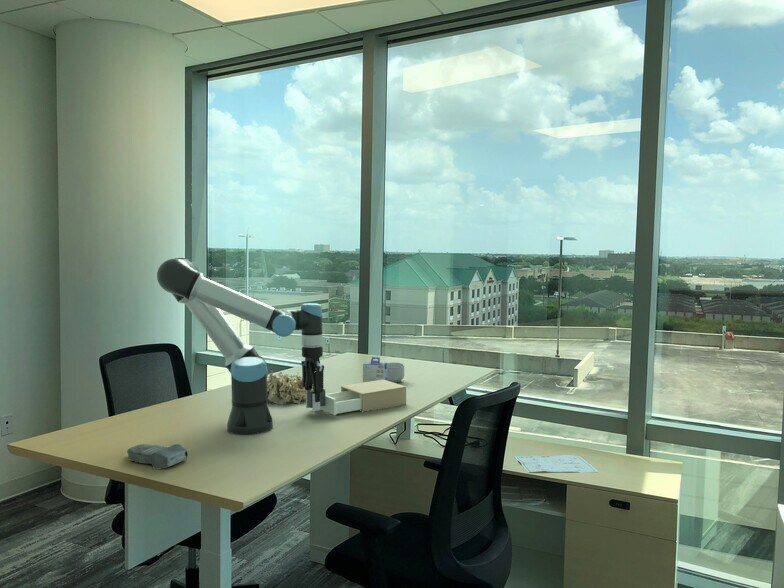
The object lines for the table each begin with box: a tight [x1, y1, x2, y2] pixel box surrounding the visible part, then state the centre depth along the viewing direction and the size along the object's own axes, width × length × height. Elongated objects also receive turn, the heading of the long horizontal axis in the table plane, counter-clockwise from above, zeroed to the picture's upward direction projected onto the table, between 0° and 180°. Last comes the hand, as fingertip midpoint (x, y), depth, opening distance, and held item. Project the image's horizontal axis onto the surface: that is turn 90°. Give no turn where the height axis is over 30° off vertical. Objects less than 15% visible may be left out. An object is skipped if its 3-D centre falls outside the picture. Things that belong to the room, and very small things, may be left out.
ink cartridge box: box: [362, 356, 388, 383], centre depth 259 cm, size 10×6×14 cm, turn 78°
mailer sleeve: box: [340, 380, 407, 412], centre depth 238 cm, size 20×16×7 cm
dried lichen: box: [267, 370, 313, 406], centre depth 250 cm, size 27×30×11 cm
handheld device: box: [127, 443, 189, 469], centre depth 175 cm, size 10×20×5 cm, turn 65°
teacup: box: [386, 362, 405, 384], centre depth 279 cm, size 14×11×8 cm
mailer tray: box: [307, 388, 362, 416], centre depth 229 cm, size 26×16×8 cm, turn 125°
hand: (313, 408), depth 223 cm, fingers open, 4 cm apart
